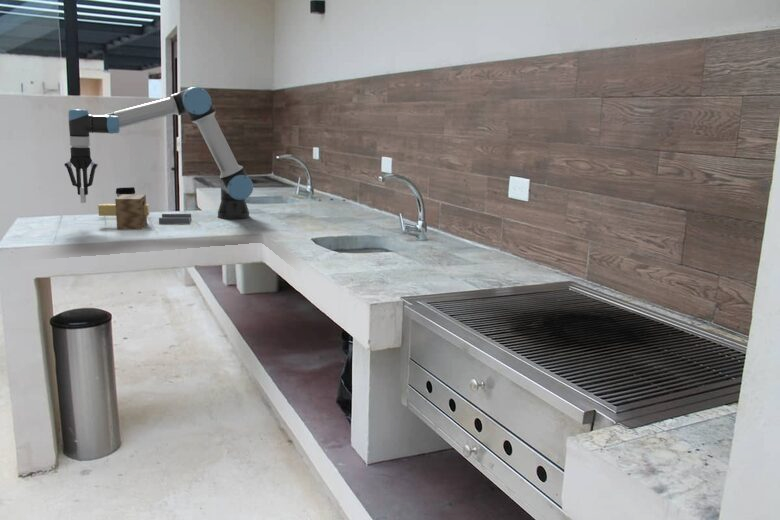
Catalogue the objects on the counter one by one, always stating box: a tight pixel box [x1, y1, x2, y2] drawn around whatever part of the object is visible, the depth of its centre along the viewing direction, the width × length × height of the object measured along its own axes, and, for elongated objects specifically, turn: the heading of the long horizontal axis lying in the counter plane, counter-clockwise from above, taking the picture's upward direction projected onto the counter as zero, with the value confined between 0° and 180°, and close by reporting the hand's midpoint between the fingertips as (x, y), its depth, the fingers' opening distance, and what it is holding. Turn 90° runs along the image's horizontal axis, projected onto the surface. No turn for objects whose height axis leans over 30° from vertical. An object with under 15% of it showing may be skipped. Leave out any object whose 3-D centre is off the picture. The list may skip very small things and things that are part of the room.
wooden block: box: [114, 193, 148, 230], centre depth 284 cm, size 10×16×13 cm, turn 13°
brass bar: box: [97, 203, 150, 217], centre depth 283 cm, size 20×4×4 cm, turn 103°
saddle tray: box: [158, 213, 192, 225], centre depth 300 cm, size 13×13×3 cm
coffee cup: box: [115, 186, 136, 198], centre depth 300 cm, size 8×8×15 cm
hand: (83, 202), depth 279 cm, fingers closed
